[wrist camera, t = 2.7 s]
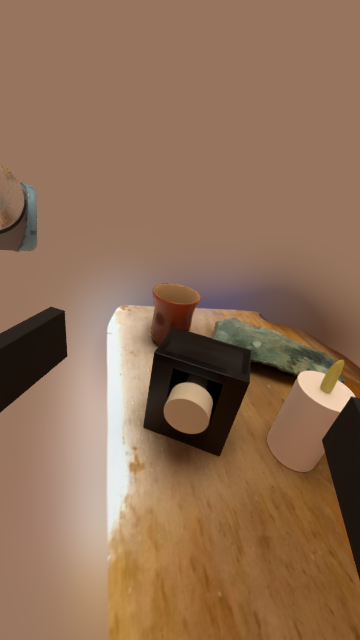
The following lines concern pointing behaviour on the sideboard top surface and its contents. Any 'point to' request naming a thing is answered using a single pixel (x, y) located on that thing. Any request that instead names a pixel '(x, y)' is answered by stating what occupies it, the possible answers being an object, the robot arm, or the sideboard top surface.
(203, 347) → the control box
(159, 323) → the mug
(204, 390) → the knob
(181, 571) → the sideboard top surface
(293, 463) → the candle
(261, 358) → the decorative stone
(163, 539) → the sideboard top surface
